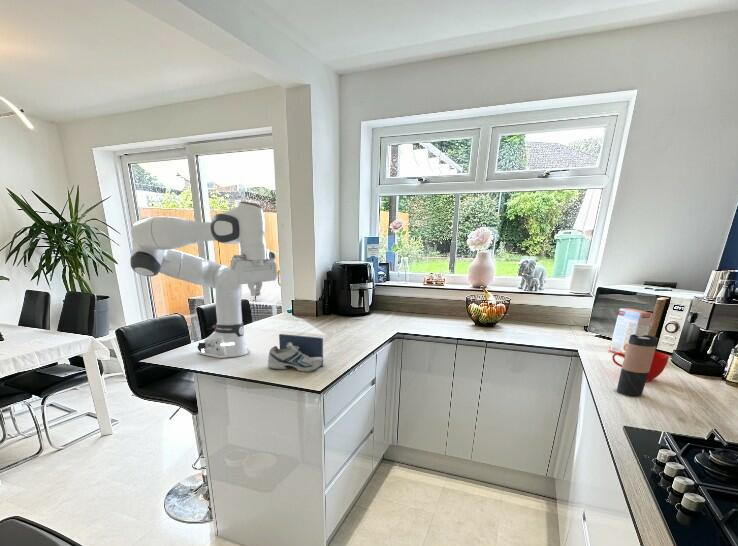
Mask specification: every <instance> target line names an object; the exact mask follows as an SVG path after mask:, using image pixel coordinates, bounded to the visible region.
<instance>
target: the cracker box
mask: <svg viewBox="0 0 738 546" xmlns="http://www.w3.org/2000/svg"><path fill="white" fill-rule="evenodd" d="M653 316H654V313H653V312H649V311H645V310H642V309H641V310H640V309H635V308H629V307H621V308H619V309H618V313H617V318H616V322H615V327H614V330H613V333H612V338H611V342H610V346H609V350H608V352H611V353H613V354H615V353H622V354H624V355H625V354H626V350H627V346H628V343H629V339H630V336H631V335H636V336H644V335H649V334H648V333H649V330H650V327H651V324H652V321H653V320H652V319H653Z"/></svg>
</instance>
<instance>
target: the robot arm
mask: <svg viewBox="0 0 738 546" xmlns="http://www.w3.org/2000/svg"><path fill="white" fill-rule="evenodd" d="M265 223H266V222H265V215H264V210H263V208H262V207H261V206H260V204H258V203H254V202H249V201H244V200H243V201H242V200H241V201H239V202H237V204H235V206H234V207H232V208H230V209H229V210H226V211H223V212H221V213H216V214H215V215H214V216H213V217H212V218H211V221H208V222H207V221H206V222H204V221H203V222H202V221H197V220H190V219H187V218H182V217H176V216H169V215H168V216H167V215H160V216H158V215H157V216H152V217H142V218H141V219H139V220H138V221H135V222H134V223H133V225H132V226H131V229H130V232H131V233H130V234H131V237H132V246H131V256H130V259H129V261H130V268H131V269H132V270H133V271H134V273H136V274H138V275H141V276H144V277H156V276H158V274H159V273H160V274H163V275H165V276H166V277H170V278H173V279H177V280H180V281H182V282H183V281H184V282H187V283H191V284H195V285H198V286H203V287H208V288H211V289H215V316H216V323H215V324H214V325H212V327H211V328H212V329H214V331H213V332H212V333H211V334H210V335H208V336H207V337H206V338H205V339H204V340H199V342H198V345H197V350H198V354H199V355H204V356H207V357H208V356H209V357H212V358H216V359H226V358H236V357H241V356H245V355H247V354H248V353H249V351H248V347H247V344H246V340H245V335H244V334H245V328H244V325H245V324H244V322H243V313H242V312H243V311H242V293H243V292H242V291H243V289H242V285H247V287H248V289H249V291H250V297H259V296H261V290H262V287H263V283H266V282H273V281H276V280H277V278H278V266H277V261H276V259H277V253H276V252H274V251H272V250H270V249H268V248H267V243H266V240H265V235H266V224H265ZM209 241H211V242H213V241H216V242H217V243H218V242H219V243H221V244H225V245H238V246H239V248H238V249H239V254H233V256H232V257H231V259H230V266H228V265H225V264H222V263H218V262H216V261H212V260H209V259H206V258H202V257H199V256H196V255H193V254H189V253H186V252H183V251H181V250H180V251H179V250H176V249H179V248H184V247H187V246H191V245H195V244H199V243H202V242H209Z"/></svg>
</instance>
